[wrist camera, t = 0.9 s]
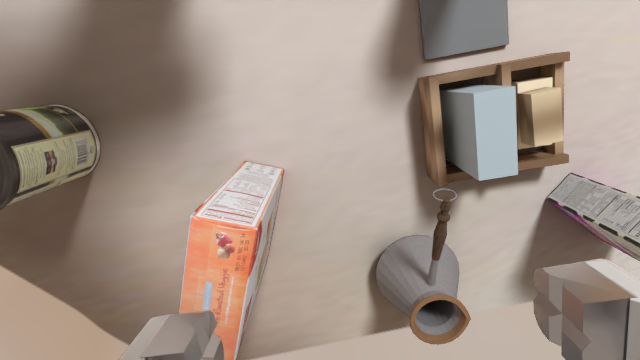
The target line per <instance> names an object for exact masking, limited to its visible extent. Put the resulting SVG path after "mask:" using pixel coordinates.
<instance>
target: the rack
mask: <svg viewBox="0 0 640 360" xmlns="http://www.w3.org/2000/svg"><path fill="white" fill-rule="evenodd" d="M566 61H570V52H561V53H553V54H546V55H540V56H535V57H530V58H524V59H519V60H513V61H508V62H502V63H497V64H491V65H486V66H481V67H475V68H470V69H464V70H459V71H453V72H448V73H442V74H437V75H432V76H426V77H421V78H418V81H419V91H420V101H421V111H422V121H423V131H424V141H425V151H426V161H427V171H428V176H429V177H430V178H431V179H432V180H433V181H434V182H435V183H436V184H437V185H438V186H445V185H447V182H453V181H459V180H466V179H472V178H474V177H472V176H471V175H469V174H468V173H466V172H465V171H463V170H462V169H460V168H459V167H457V166H456V165H454V164H453V165H447V166H446V163H445V151H444V140H443V128H442V116H441V105H440V93H439V84H444V83H450V82H455V81H461V80H466V79H472V78H477V77H483V85H497V86H511V71H516V70H522V69H527V68H533V67H538V66H540V78H542V77H553V86H552V87H558V88H561V99H562V118H563V137H564V62H566ZM563 146H564V141H560V142H555V143H552V144H551V145H544V146H541V150H538V151H532V152H526V153H520V154H517V155H518V171H521V170H527V169H533V168H539V167H545V166H552V165H558V164H564V163H569V155H568V154H565V153H563Z"/></svg>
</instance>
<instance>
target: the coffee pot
mask: <svg viewBox="0 0 640 360" xmlns="http://www.w3.org/2000/svg"><path fill="white" fill-rule="evenodd" d="M441 190H445V191H450V192H453V193H454V194H455V195H456V196H455V198H453V199H449V198H444V199H443V200H441V199H438V198H436V197H435V196H434V193H436V192H437V191H441ZM433 197H434V199H435V200H438V201H441V202H442V204H441V206H440V208H441V212H440V213H438V214H437V218H438V223H437V226H436V228H435V230H434V237H430V236H423V235H413V236H407V237H404V238H401V239H399V240H397V241H395V242H394V243H392V244H391V245H390V246H389V247H387V249H386V250H385V251H384V253H383V254H382V255H381V257H380V259H379V261H378V264H377V268H376V281H377V286H378V288H379V289H380V291H381V293H382V295H383V296H384V297H385V298H386V299H387V300H388V301H389V302H390V303H392V304H393V305H394V306H396V307H397V308H398V309H400V310H401V311H402V312H404V313H405V314H407V315H408V316H409V317H410V327H411V329H412V331H413V333H414V334H415V335H416V336H417V337H418V338H419V339H420V340H422V341H424V342H426V343H430V344H444V343H448V342H451V341H453V340H454V339H456V338H457V337H459V336H460V335H461V334H462V332H463V331H464V330H465V328H466V327H467V325H468V323H469V321H470V319H471V318H470V316H469V313H468V311H467V310H466V308H465V306H464V305H463V304H462V303H461V302H460V301H459V300H457V290H458V281H459V265H458V261H457V258H456V256H455V254H454V252H453V251H452V250H451V249H450V248H449V247H448V245H446V244H445V243H444V242H445V239H446V236H447V221H449V219H450V215H449V214H448V211H449V209H450V201H453V200H455V199H456V198H457V193H456V192H454V191H453V190H450V189H444V188H441V189H437V190H436V191H434V192H433Z"/></svg>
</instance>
